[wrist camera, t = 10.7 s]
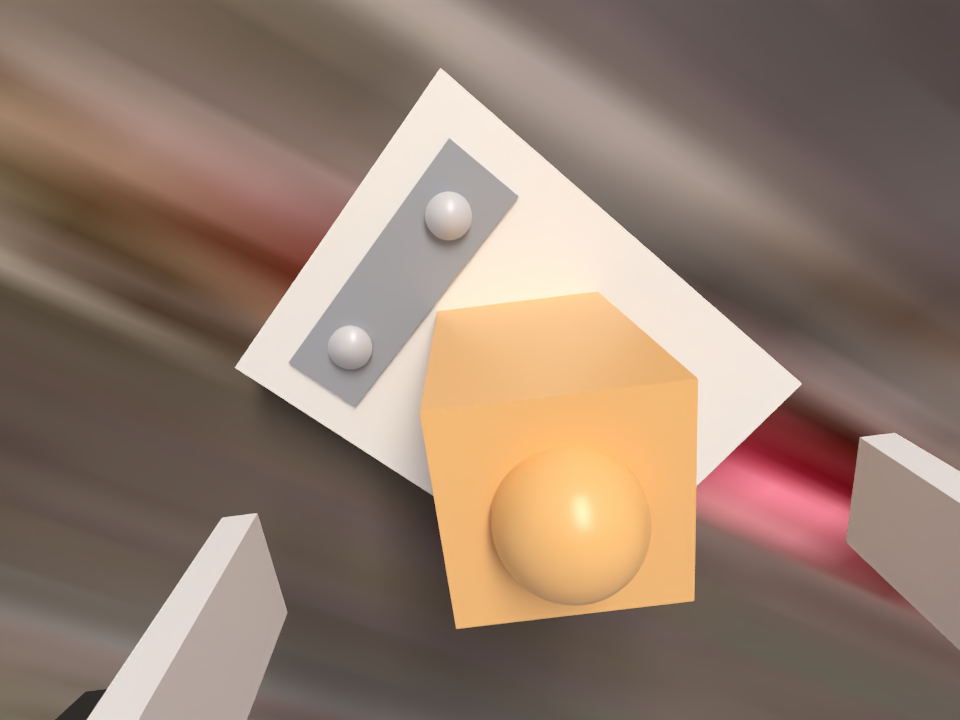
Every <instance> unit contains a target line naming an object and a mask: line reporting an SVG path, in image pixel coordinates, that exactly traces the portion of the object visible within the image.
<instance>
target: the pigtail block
mask: <svg viewBox="0 0 960 720" xmlns="http://www.w3.org/2000/svg"><path fill="white" fill-rule="evenodd" d="M597 291H598V292H599V293H600V294H601V295H602V296H604V297H605V298H606V299H607V300H608V301H609V302H611V303H612V304H613V305H614V306H615V307H616V308H617V309H619V310H620V311H621V312H622V313H623V314H624V315H625V316H627V317H628V318H629V319H630V320H631V321H632V322H634V323H635V324H636V325H637V326H638V327H639V328H640V329H642V330H643V331H644V332H645V333H646V334H647V335H648V336H650V337H651V338H652V339H653V340H654V341H655V342H657V343H658V344H659V345H660V346H661V347H662V348H663V349H665V350H666V351H667V352H668V353H669V354H670V355H671V356H673V357H674V358H675V359H676V360H677V361H678V362H679V363H681V364H682V365H683V366H684V367H685V368H686V369H688V370H689V371H690V372H691V373H692V374H693V375H694V376H696V377H697V378H698V416H697V474H696V486H697V485H698V484H699V483H700V482H701V481H702V480H703V479H704V478H705V477H706V476H707V475H709V474H710V473H711V472H712V471H713V470H714V469H715V468H716V467H717V466H718V465H719V464H720V463H721V462H722V461H723V460H724V459H725V458H726V457H727V456H728V455H729V454H730V453H731V452H732V451H733V450H734V449H735V448H736V447H737V446H738V445H739V444H741V443H742V442H743V441H744V440H745V439H746V438H747V437H748V436H749V435H750V434H751V433H752V432H753V431H754V430H755V429H756V428H757V427H758V426H759V425H760V424H761V423H762V422H763V421H764V420H765V419H766V418H767V417H768V416H769V415H770V414H771V413H773V412H774V411H775V410H776V409H777V408H778V407H779V406H780V405H781V404H782V403H783V402H784V401H785V400H786V399H787V398H788V397H789V396H790V395H791V394H792V393H793V392H794V391H795V390H796V389H797V388H798V387H799V386H800V385H801V384H802V383H801V382H799V381H798V380H797V379H796V378H795V377H794V376H793V375H791V374H790V373H789V372H788V371H787V370H786V369H785V368H783V367H782V366H781V365H780V364H779V363H778V362H777V361H775V360H774V359H773V358H772V357H771V356H770V355H769V354H767V353H766V352H765V351H764V350H763V349H762V348H761V347H759V346H758V345H757V344H756V343H755V342H754V341H752V340H751V339H750V338H749V337H748V336H747V335H746V334H744V333H743V332H742V331H741V330H740V329H739V328H738V327H736V326H735V325H734V324H733V323H732V322H731V321H730V320H728V319H727V318H726V317H725V316H724V315H723V314H722V313H720V312H719V311H718V310H717V309H716V308H715V307H714V306H712V305H711V304H710V303H709V302H708V301H707V300H706V299H704V298H703V297H702V296H701V295H700V294H699V293H698V292H696V291H695V290H694V289H693V288H692V287H691V286H690V285H688V284H687V283H686V282H685V281H684V280H683V279H682V278H680V277H679V276H678V275H677V274H676V273H675V272H673V271H672V270H671V269H670V268H669V267H668V266H667V265H665V264H664V263H663V262H662V261H661V260H660V259H659V258H657V257H656V256H655V255H654V254H653V253H652V252H651V251H649V250H648V249H647V248H646V247H645V246H644V245H643V244H641V243H640V242H639V241H638V240H637V239H636V238H635V237H633V236H632V235H631V234H630V233H629V232H628V231H627V230H625V229H624V228H623V227H622V226H621V225H620V224H619V223H617V222H616V221H615V220H614V219H613V218H612V217H611V216H609V215H608V214H607V213H606V212H605V211H604V210H603V209H601V208H600V207H599V206H598V205H597V204H596V203H595V202H593V201H592V200H591V199H590V198H589V197H588V196H586V195H585V194H584V193H583V192H582V191H581V190H580V189H578V188H577V187H576V186H575V185H574V184H573V183H572V182H570V181H569V180H568V179H567V178H566V177H565V176H564V175H562V174H561V173H560V172H559V171H558V170H557V169H556V168H554V167H553V166H552V165H551V164H550V163H549V162H548V161H546V160H545V159H544V158H543V157H542V156H541V155H540V154H538V153H537V152H536V151H535V150H534V149H533V148H532V147H530V146H529V145H528V144H527V143H526V142H525V141H524V140H522V139H521V138H520V137H519V136H518V135H517V134H516V133H514V132H513V131H512V130H511V129H510V128H509V127H508V126H506V125H505V124H504V123H503V122H502V121H501V120H499V119H498V118H497V117H496V116H495V115H494V114H493V113H491V112H490V111H489V110H488V109H487V108H486V107H485V106H483V105H482V104H481V103H480V102H479V101H478V100H477V99H475V98H474V97H473V96H472V95H471V94H470V93H469V92H467V91H466V90H465V89H464V88H463V87H462V86H461V85H459V84H458V83H457V82H456V81H455V80H454V79H453V78H451V77H450V76H449V75H448V74H447V73H446V72H445V71H443V70H442V69H441V68H440V69H439V71H438V72H437V74H436V75H435V77H434V78H433V79H432V81H431V82H430V84H429V85H428V87H427V88H426V90H425V91H424V93H423V94H422V96H421V97H420V98H419V100H418V101H417V103H416V104H415V106H414V107H413V109H412V110H411V112H410V113H409V114H408V116H407V117H406V119H405V120H404V122H403V123H402V125H401V126H400V128H399V129H398V130H397V132H396V133H395V135H394V136H393V138H392V139H391V141H390V142H389V144H388V145H387V147H386V148H385V149H384V151H383V152H382V154H381V155H380V157H379V158H378V160H377V161H376V163H375V164H374V165H373V167H372V168H371V170H370V171H369V173H368V174H367V176H366V177H365V179H364V180H363V181H362V183H361V184H360V186H359V187H358V189H357V190H356V192H355V193H354V195H353V196H352V198H351V199H350V200H349V202H348V203H347V205H346V206H345V208H344V209H343V211H342V212H341V214H340V215H339V216H338V218H337V219H336V221H335V222H334V224H333V225H332V227H331V228H330V230H329V231H328V233H327V234H326V235H325V237H324V238H323V240H322V241H321V243H320V244H319V246H318V247H317V249H316V250H315V251H314V253H313V254H312V256H311V257H310V259H309V260H308V262H307V263H306V265H305V266H304V267H303V269H302V270H301V272H300V273H299V275H298V276H297V278H296V279H295V281H294V282H293V284H292V285H291V286H290V288H289V289H288V291H287V292H286V294H285V295H284V297H283V298H282V300H281V301H280V302H279V304H278V305H277V307H276V308H275V310H274V311H273V313H272V314H271V316H270V317H269V319H268V320H267V321H266V323H265V324H264V326H263V327H262V329H261V330H260V332H259V333H258V335H257V336H256V337H255V339H254V340H253V342H252V343H251V345H250V346H249V348H248V349H247V351H246V352H245V353H244V355H243V356H242V358H241V359H240V361H239V362H238V364H237V365H236V367H235V368H236V369H238V370H239V371H241V372H242V373H244V374H245V375H247V376H249V377H250V378H252V379H253V380H255V381H256V382H258V383H259V384H261V385H263V386H264V387H266V388H267V389H269V390H270V391H272V392H273V393H275V394H276V395H278V396H280V397H281V398H283V399H284V400H286V401H287V402H289V403H290V404H292V405H293V406H295V407H297V408H298V409H300V410H301V411H303V412H304V413H306V414H307V415H309V416H310V417H312V418H314V419H315V420H317V421H318V422H320V423H321V424H323V425H324V426H326V427H327V428H329V429H331V430H332V431H334V432H335V433H337V434H338V435H340V436H341V437H343V438H344V439H346V440H348V441H349V442H351V443H352V444H354V445H355V446H357V447H358V448H360V449H361V450H363V451H365V452H366V453H368V454H369V455H371V456H372V457H374V458H375V459H377V460H378V461H380V462H382V463H383V464H385V465H386V466H388V467H389V468H391V469H392V470H394V471H395V472H397V473H399V474H400V475H402V476H403V477H405V478H406V479H408V480H409V481H411V482H413V483H414V484H416V485H417V486H419V487H420V488H422V489H423V490H425V491H426V492H428V493H430V494H431V495H433V490H432V484H431V478H430V472H429V466H428V460H427V454H426V448H425V442H424V437H423V431H422V425H421V419H420V413H419V412H420V406H421V401H422V395H423V389H424V384H425V378H426V372H427V367H428V361H429V355H430V349H431V344H432V338H433V332H434V327H435V321H436V315H437V311H442V310H450V309H458V308H466V307H474V306H482V305H491V304H499V303H507V302H515V301H523V300H531V299H540V298H548V297H556V296H564V295H572V294H580V293H589V292H597ZM433 496H434V495H433Z"/></svg>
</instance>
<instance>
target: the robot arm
mask: <svg viewBox="0 0 960 720" xmlns="http://www.w3.org/2000/svg"><path fill="white" fill-rule="evenodd" d="M846 543H847V544H848V545H849V546H851V547H852V548H853V549H854V550H855V551H856V552H857V553H858V554H859V555H860V556H861V557H862V558H863V559H864V560H865V561H866V562H867V563H868V564H869V565H870V566H872V567H873V568H874V569H875V570H876V571H877V572H878V573H879V574H880V575H881V576H882V577H883V578H884V579H885V580H886V581H887V582H888V583H889V584H890V585H892V586H893V587H894V588H895V589H896V590H897V591H898V592H899V593H900V594H901V595H902V596H903V597H904V598H905V599H906V600H907V601H908V602H909V603H910V604H911V605H913V606H914V607H915V608H916V609H917V610H918V611H919V612H920V613H921V614H922V615H923V616H924V617H925V618H926V619H927V620H928V621H929V622H930V623H931V624H933V625H934V626H935V627H936V628H937V629H938V630H939V631H940V632H941V633H942V634H943V635H944V636H945V637H946V638H947V639H948V640H949V641H950V642H951V643H952V644H954V645H955V646H956V647H957V648H958V649H959V650H960V471H958V470H956V469H955V468H953V467H951V466H950V465H948V464H946V463H945V462H943V461H941V460H940V459H938V458H936V457H935V456H933V455H931V454H930V453H928V452H926V451H925V450H923V449H921V448H919V447H918V446H916V445H914V444H913V443H911V442H909V441H908V440H906V439H904V438H903V437H901V436H899V435H898V434H896V433H890V434H882V435H874V436H866V437H860V440H859V447H858V455H857V462H856V470H855V477H854V485H853V492H852V500H851V507H850V515H849V522H848V530H847V537H846ZM286 615H287V609H286V606H285V603H284V599H283V596H282V593H281V590H280V586H279V583H278V580H277V576H276V573H275V570H274V566H273V563H272V560H271V557H270V553H269V550H268V547H267V543H266V540H265V537H264V533H263V530H262V527H261V523H260V520H259V517H258V514H257V513H255V514H247V515H239V516H231V517H223V518H222V519H221V520H220V522H219V523H218V525H217V526H216V528H215V529H214V531H213V532H212V534H211V535H210V536H209V538H208V539H207V541H206V542H205V544H204V545H203V547H202V548H201V550H200V551H199V553H198V554H197V556H196V557H195V559H194V560H193V562H192V563H191V565H190V566H189V568H188V569H187V571H186V572H185V574H184V575H183V577H182V578H181V580H180V581H179V583H178V584H177V586H176V587H175V589H174V590H173V592H172V593H171V595H170V596H169V598H168V599H167V601H166V602H165V604H164V605H163V607H162V608H161V610H160V611H159V613H158V614H157V616H156V617H155V619H154V620H153V621H152V623H151V624H150V626H149V627H148V629H147V630H146V632H145V633H144V635H143V636H142V638H141V639H140V641H139V642H138V644H137V645H136V647H135V648H134V650H133V651H132V653H131V654H130V656H129V657H128V659H127V660H126V662H125V663H124V665H123V666H122V668H121V669H120V671H119V672H118V674H117V675H116V677H115V678H114V680H113V681H112V683H111V684H110V686H109V687H108V689H104V690H96V691H89V692H85V693H84V694H83V695H82V696H81V697H79V698H78V699H77V700H76V701H75V702H74V703H73V704H72V705H71V706H70V707H69V708H68V709H66V710H65V711H64V712H63V713H62V714H61V715H60V716H59V717H58V718H57V719H56V720H247V718H248V716H249V713H250V710H251V708H252V705H253V703H254V700H255V697H256V695H257V692H258V689H259V687H260V684H261V681H262V679H263V676H264V673H265V671H266V668H267V666H268V663H269V660H270V658H271V655H272V652H273V650H274V647H275V644H276V642H277V639H278V636H279V634H280V631H281V629H282V626H283V623H284V621H285V618H286Z"/></svg>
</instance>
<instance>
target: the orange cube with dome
mask: <svg viewBox="0 0 960 720" xmlns="http://www.w3.org/2000/svg"><path fill="white" fill-rule="evenodd" d="M419 413H420V419H421V425H422V431H423V437H424V442H425V448H426V454H427V460H428V466H429V472H430V478H431V484H432V490H433V495H434V501H435V507H436V513H437V519H438V525H439V531H440V537H441V543H442V548H443V554H444V560H445V566H446V572H447V578H448V584H449V590H450V596H451V601H452V607H453V613H454V619H455V625H456V629H460V628H468V627H477V626H485V625H494V624H502V623H511V622H519V621H528V620H536V619H545V618H553V617H562V616H570V615H579V614H587V613H596V612H604V611H613V610H621V609H630V608H638V607H647V606H655V605H664V604H672V603H681V602H689V601H694V589H695V532H696V474H697V416H698V378H697V377H696V376H694V375H693V374H692V373H691V372H690V371H689V370H688V369H686V368H685V367H684V366H683V365H682V364H681V363H679V362H678V361H677V360H676V359H675V358H674V357H673V356H671V355H670V354H669V353H668V352H667V351H666V350H665V349H663V348H662V347H661V346H660V345H659V344H658V343H657V342H655V341H654V340H653V339H652V338H651V337H650V336H648V335H647V334H646V333H645V332H644V331H643V330H642V329H640V328H639V327H638V326H637V325H636V324H635V323H634V322H632V321H631V320H630V319H629V318H628V317H627V316H625V315H624V314H623V313H622V312H621V311H620V310H619V309H617V308H616V307H615V306H614V305H613V304H612V303H611V302H609V301H608V300H607V299H606V298H605V297H604V296H602V295H601V294H600V293H599V292H598V291H597V292H589V293H580V294H572V295H564V296H556V297H548V298H540V299H531V300H523V301H515V302H507V303H499V304H491V305H482V306H474V307H466V308H458V309H450V310H442V311H437V315H436V321H435V327H434V332H433V338H432V344H431V349H430V355H429V361H428V367H427V372H426V378H425V384H424V389H423V395H422V401H421V406H420V412H419Z"/></svg>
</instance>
